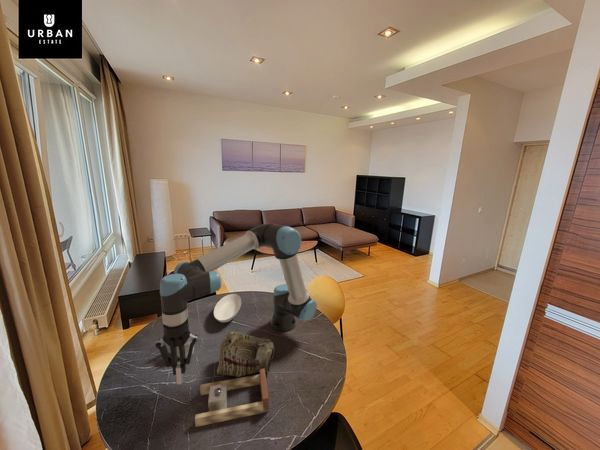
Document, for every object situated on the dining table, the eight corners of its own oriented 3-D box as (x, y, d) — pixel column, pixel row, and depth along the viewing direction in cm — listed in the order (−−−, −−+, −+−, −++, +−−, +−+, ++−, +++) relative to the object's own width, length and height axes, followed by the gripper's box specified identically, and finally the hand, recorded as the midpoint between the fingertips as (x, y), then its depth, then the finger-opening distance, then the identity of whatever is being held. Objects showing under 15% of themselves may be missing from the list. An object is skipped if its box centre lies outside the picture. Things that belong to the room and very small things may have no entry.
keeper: (227, 395, 96) (226, 381, 95) (226, 411, 89) (225, 397, 88) (211, 398, 95) (210, 384, 93) (209, 415, 88) (208, 400, 87)
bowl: (236, 330, 136) (235, 320, 134) (208, 330, 135) (207, 320, 133) (244, 302, 165) (244, 293, 164) (222, 302, 164) (221, 293, 163)
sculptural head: (278, 326, 119) (227, 319, 119) (273, 349, 98) (211, 340, 98) (272, 362, 119) (222, 354, 119) (267, 392, 98) (205, 383, 98)
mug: (188, 360, 113) (186, 337, 110) (164, 357, 114) (162, 334, 112) (197, 348, 120) (195, 327, 118) (174, 346, 122) (172, 324, 119)
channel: (264, 380, 103) (264, 368, 102) (268, 411, 90) (268, 397, 88) (201, 392, 97) (200, 379, 96) (195, 427, 84) (194, 412, 82)
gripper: (198, 312, 87) (201, 369, 91) (157, 316, 83) (162, 375, 88) (194, 324, 79) (198, 386, 84) (150, 329, 76) (156, 393, 81)
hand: (180, 380), depth 86 cm, fingers closed
